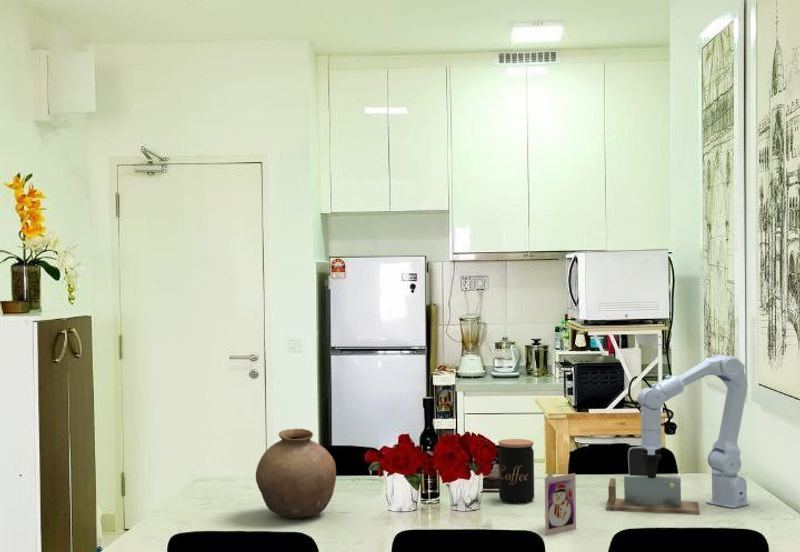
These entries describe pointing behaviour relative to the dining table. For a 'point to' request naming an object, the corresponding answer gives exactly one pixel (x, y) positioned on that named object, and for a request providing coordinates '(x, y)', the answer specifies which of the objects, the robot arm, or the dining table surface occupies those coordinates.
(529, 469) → the coffee jar
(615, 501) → the hinge rail
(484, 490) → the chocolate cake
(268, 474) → the pottery
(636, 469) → the battery charger
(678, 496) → the door panel
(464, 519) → the dining table surface
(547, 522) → the greeting card
